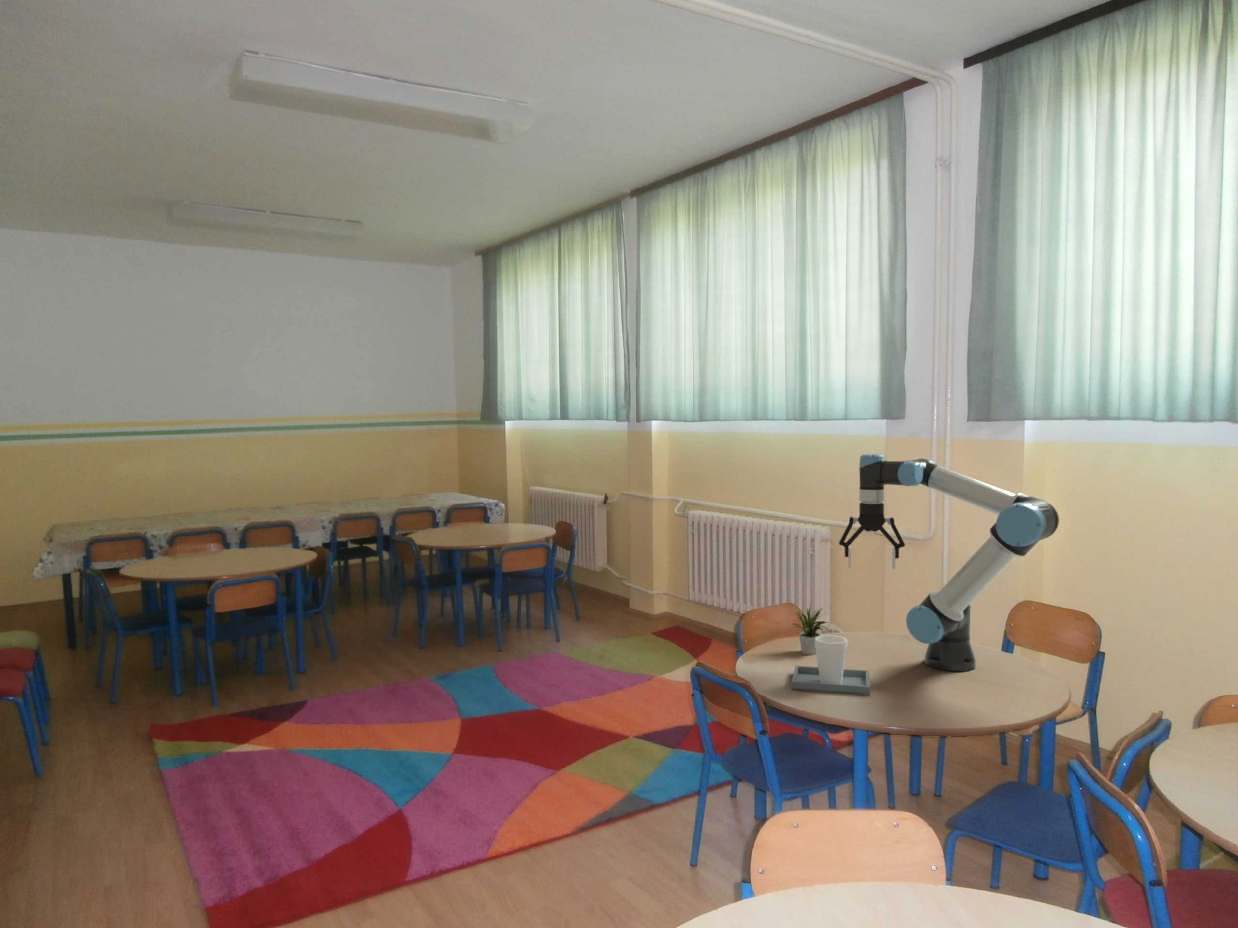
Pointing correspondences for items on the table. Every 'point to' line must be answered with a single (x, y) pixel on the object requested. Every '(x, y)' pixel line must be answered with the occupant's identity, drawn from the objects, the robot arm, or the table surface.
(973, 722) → the table surface
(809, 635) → the house plant
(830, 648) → the foam cup
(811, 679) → the tray
